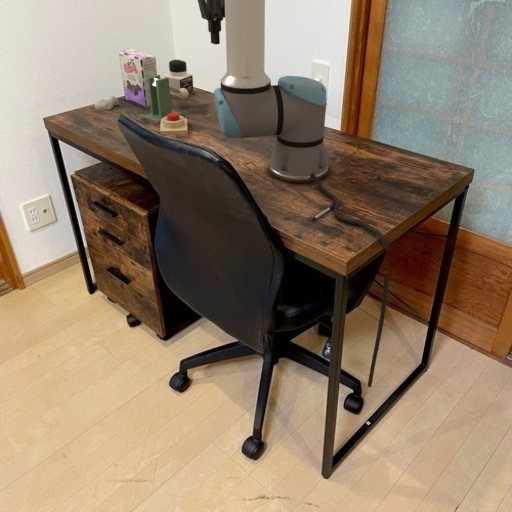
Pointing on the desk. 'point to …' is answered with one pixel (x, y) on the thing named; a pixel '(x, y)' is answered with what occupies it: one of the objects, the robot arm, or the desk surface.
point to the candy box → (137, 74)
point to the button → (173, 116)
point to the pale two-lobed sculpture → (106, 104)
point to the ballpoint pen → (325, 211)
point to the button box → (173, 126)
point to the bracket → (159, 98)
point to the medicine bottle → (179, 76)
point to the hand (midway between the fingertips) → (215, 43)
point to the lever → (181, 92)
